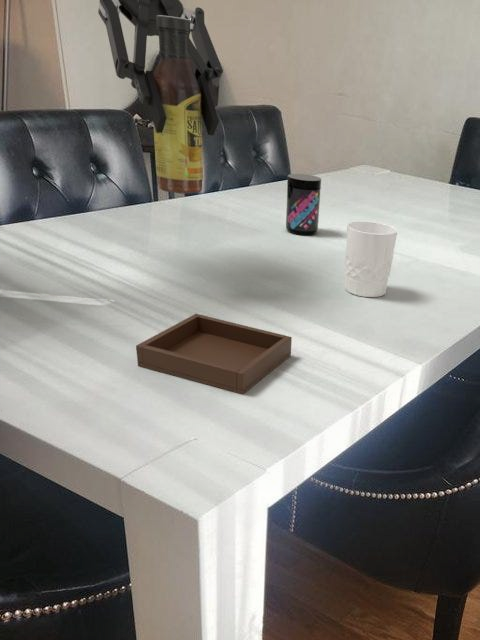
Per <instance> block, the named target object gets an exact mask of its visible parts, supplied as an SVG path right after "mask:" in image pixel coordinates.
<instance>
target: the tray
mask: <svg viewBox="0 0 480 640" xmlns="http://www.w3.org/2000/svg"><path fill="white" fill-rule="evenodd" d="M292 340H293V337H292V336H289V335H285V334H281V333H277V332H274V331H273V332H272V331H269V330H264V329H261V328H257V327H254V326H253V327H252V326H248V325H245V324H240V323H235V322H231V321H228V320H224V319H220V318H215V317H212V316H207V315H204V314H200V313H194V314H192V315H191V316H189V317H187V318H184V319H183V320H180V321H179V322H178V323H176V324H174V325H172V326H170V327H168V328H166V329H164V330H162V331H160V332H158V333H157V334H155V335H153V336H152V337H149V338H148V339H146V340H144V341H142V342H140V343H138V344H136V345H135V348H136V361H137V366H138V367H141V368H145V369H148V370H152V371H155V372H159V373H163V374H167V375H171V376H175V377H179V378H181V379H186V380H189V381H192V382H197V383H200V384H204V385H207V386H211V387H214V388H215V387H216V388H219V389H222V390H226V391H229V392H233V393H237V394H241V395H244V394H245V393H246V392H248V391H249V390H250V389H252V388H253V387H254V386H255V385H256V384H258V383H259V382H260V381H262V379H264V378H265V377H266V376H267V375H269V374H270V373H271V372H272V371H273V370H275V369H276V368H277V367H278V366H280V365H281V364H282V363H284V362H285V361H286V360H287V359H289V358H290V357H291V355H292Z"/></svg>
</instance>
